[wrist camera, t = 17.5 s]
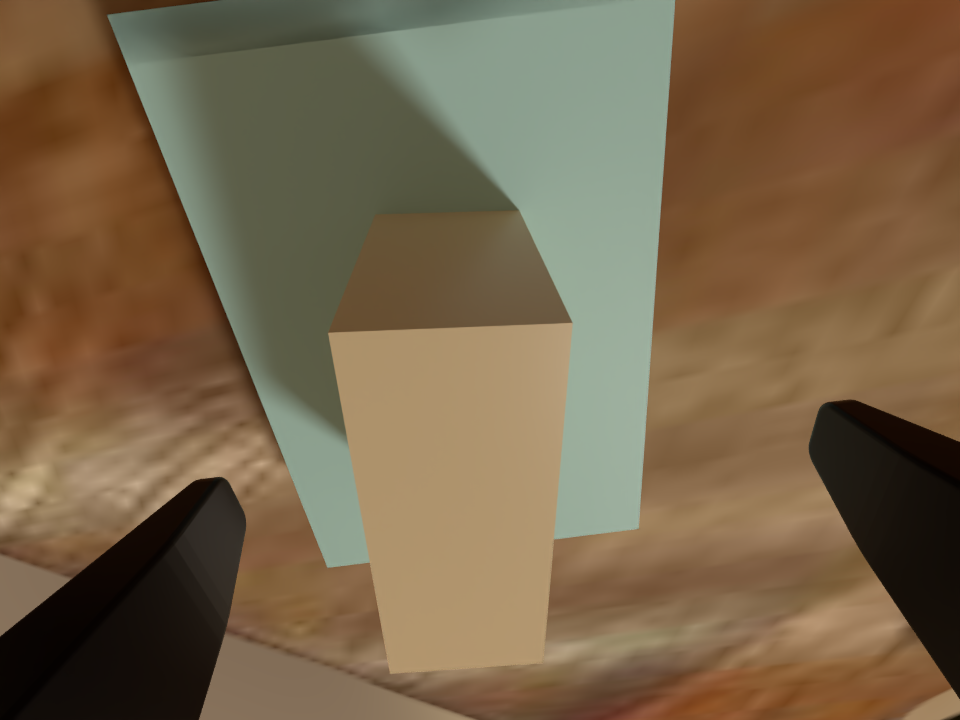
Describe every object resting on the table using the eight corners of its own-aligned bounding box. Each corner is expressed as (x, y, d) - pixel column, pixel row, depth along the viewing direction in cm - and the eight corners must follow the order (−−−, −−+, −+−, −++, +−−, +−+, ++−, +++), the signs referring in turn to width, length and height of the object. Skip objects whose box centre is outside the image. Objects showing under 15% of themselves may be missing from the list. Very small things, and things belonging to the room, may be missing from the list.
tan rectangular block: (519, 210, 15) (573, 323, 9) (512, 476, 20) (543, 662, 14) (375, 214, 14) (328, 332, 8) (405, 481, 20) (390, 673, 14)
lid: (634, -39, 15) (679, -59, 12) (616, 474, 24) (638, 528, 22) (169, 20, 15) (107, 14, 12) (340, 509, 25) (327, 567, 22)
